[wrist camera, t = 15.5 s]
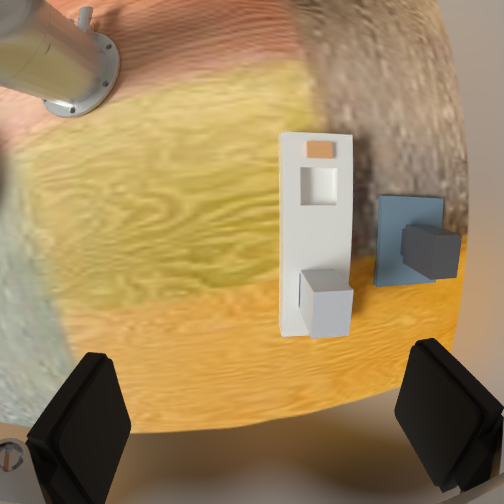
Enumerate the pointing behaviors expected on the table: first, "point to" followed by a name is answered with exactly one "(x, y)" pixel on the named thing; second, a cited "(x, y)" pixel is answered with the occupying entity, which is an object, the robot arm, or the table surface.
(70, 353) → the table surface
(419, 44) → the table surface
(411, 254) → the block
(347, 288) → the block
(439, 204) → the mat
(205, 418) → the table surface
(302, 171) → the power strip
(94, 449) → the robot arm
